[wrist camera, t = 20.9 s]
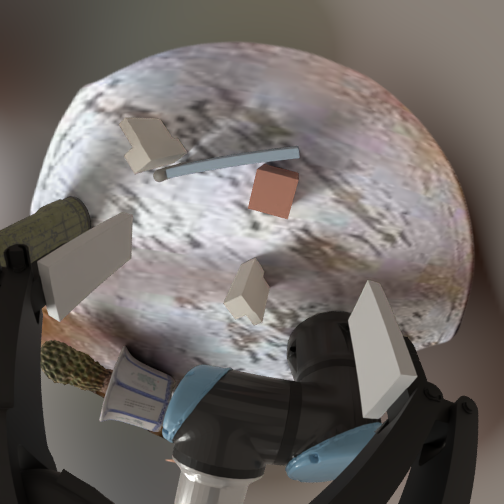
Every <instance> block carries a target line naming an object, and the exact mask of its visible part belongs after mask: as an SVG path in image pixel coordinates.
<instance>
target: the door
mask: <svg viewBox="0 0 504 504" xmlns="http://www.w3.org/2000/svg"><path fill="white" fill-rule="evenodd" d="M296 158H300V157H299V148H298V146H293V147H284V148H276V149H268V150H260V151H253V152H246V153H240V154H233V155H227V156H222V157H216V158H211V159H205V160H200V161H195V162H190V163H187V162H183V163H179V164H176V165H172V166H169V167H165V168H162V169H158V170H156V171H155V172H154V174H153V177H154V179H155V181H157V182H161V181H164V180H167V179H169V178H172V177H177V176H182V175H187V174H193V173H198V172H203V171H209V170H215V169H221V168H227V167H233V166H240V165H247V164H254V163H261V162H269V161H278V160H286V159H296Z"/></svg>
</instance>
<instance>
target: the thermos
mask: <svg viewBox="0 0 504 504" xmlns="http://www.w3.org/2000/svg"><path fill="white" fill-rule="evenodd" d="M90 226H91V223H90V217H89V213H88V210H87V209H86V207H85V205H84V204H83V203H82V202H81V201H80V200H79V199H78V198H76V197H71V196H69V197H67V198H65V199H63V200H61V199H59V200H57V201H55V202H52V203H50V204H47V205H45V206H43V207H41V208H40V209H39V210H38V211H37V212H36V213H35V214H33V215H31V216H29V217H26V218H24V219H22V220H20V221H18V222H16V223H14V224H12V225H10V226H8V227H6V228H4V229H2V230H0V262H1V266H3V267H6V262H5V258H4V253H3V252H4V250H5V249H6V248H8V247H9V246H12V245H15V244H25V245H27V246H28V247H29V252H30V259H31V263H32V262H34V261H35V260H37V259H38V258H40V257H41V256H43V255H45V254H46V253H49V251H51V250H53V249H55V248H56V247H57V246H59V245H61V244H63V243H66V242H69V241H71V240H73V239H74V238H76V237H78V236H79V235H81V234H83V233H85V232H86V231H88V230H90Z"/></svg>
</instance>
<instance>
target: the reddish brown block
mask: <svg viewBox="0 0 504 504" xmlns="http://www.w3.org/2000/svg"><path fill="white" fill-rule="evenodd" d="M298 180H299V173H296V172H293V171H289V170H285V169H282V168H278V167H274V166H270V165H266V164H263V165H262V166H261V167H259V168H258V169H257V172H256V176H255V180H254V184H253V189H252V193H251V197H250V202H249V206H248V209H252V210H256V211H260V212H263V213H267V214H271V215H274V216H278V217H282V218H285V219H288V216H289V212H290V209H291V205H292V202H293V198H294V195H295V191H296V187H297V184H298Z"/></svg>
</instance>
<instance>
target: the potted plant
mask: <svg viewBox="0 0 504 504" xmlns="http://www.w3.org/2000/svg"><path fill="white" fill-rule="evenodd" d="M41 368H42V371H43V372H44V373H45V374H46V375H47V377H48V378H49V379H52V380H53V382H54V383H63V384H64V385H66V384H70V385H74V386H76V387H79V388H80V389H82V390H91V391H92V390H94V391H93V392H94V393H95V394H96V391H101V392H104V393H105V394H106V395H105V398H104V402H103V406H102V411H101V415H100V421H101V422H102V421H105V420H117V421H122V422H126V423H128V424H132V425H135V426H138V427H141V428H144V429H147V430H151V431H154V432H158V431H160V428H161V426H162V424H163V421H164V417H165V414H166V411H167V408H168V405H169V403H170V400H171V397H172V390H173V388H174V385H175V382H176V381H175V380H174V379H173V377H172V376H170V375H168V374H165V373H163V372H161V371H159V370H156V369H154V368H151V367H149V366H147V365H145V364H143V363H141V362H140V361H138V360H136V359H135V358H134V357H132V355H131V354H130V353H129V351H128V350H127V348H126V346H124V347H123V348H122V350H121V352H120V355H119V357H118V360H117V362H116V364H115V367H114V369H113V370H111V369H105V368H104V367H103V366H101V365H100V364H99V362H98V361H97V362H94V359H92V358H91V357H90V356H89V355H88V354H85V353H83V352H81V351H76V350H75V349H74V348H72V347H71V346H68V345H67V344H66V343H63V342H59V341H56V340H54V341H52V340H50V341H46V342H45V343H44V344H43V345H42V347H41Z"/></svg>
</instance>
